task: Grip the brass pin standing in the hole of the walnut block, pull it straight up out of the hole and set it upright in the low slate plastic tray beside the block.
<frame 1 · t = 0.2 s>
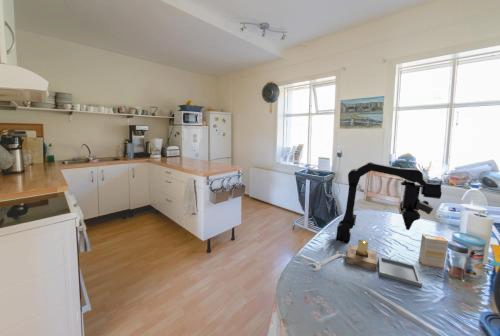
hand: (406, 226, 106), 14 cm above the table, tool pointing down, fingers open, 9 cm apart
supplement box: (430, 264, 101), on the table
pin block: (361, 259, 103), on the table
brass pin: (362, 250, 102), in the pin block
wrench: (328, 261, 101), on the table
tray: (397, 272, 93), on the table
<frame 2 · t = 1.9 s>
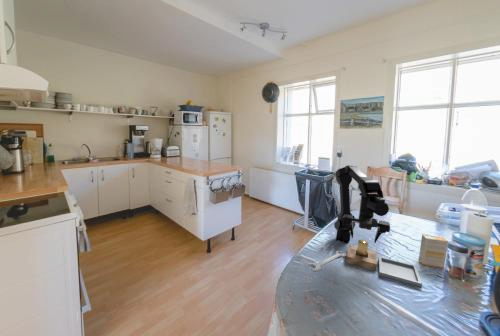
hand: (363, 240, 101), 10 cm above the table, tool pointing down, fingers open, 9 cm apart
nothing on the table moved.
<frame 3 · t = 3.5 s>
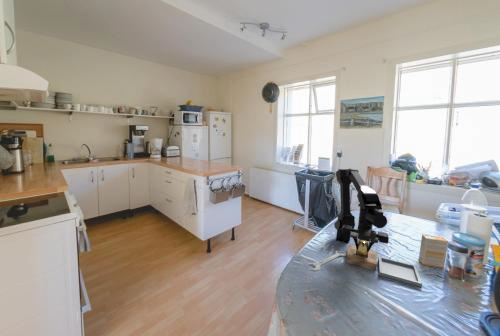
hand: (362, 250, 102), 5 cm above the table, tool pointing down, fingers closed on brass pin, 4 cm apart
brass pin: (362, 250, 102), in the pin block, touching gripper
everything else where it was.
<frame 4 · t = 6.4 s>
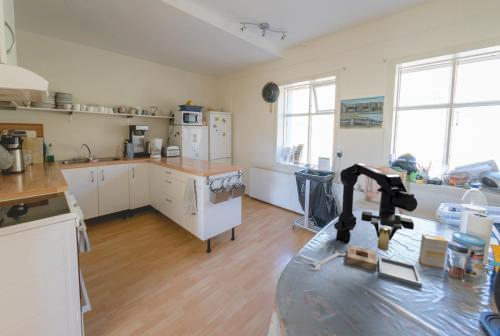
hand: (383, 238, 95), 13 cm above the table, tool pointing down, fingers closed on brass pin, 4 cm apart
brass pin: (383, 238, 95), point 13 cm above the table, touching gripper
everything else where it was.
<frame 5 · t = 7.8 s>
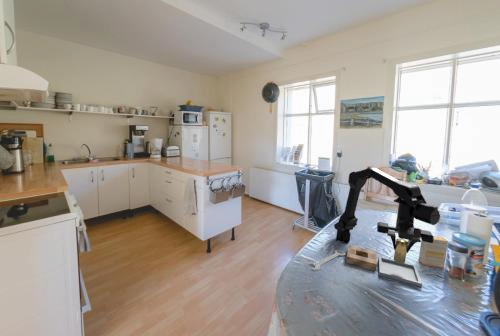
hand: (400, 250, 92), 10 cm above the table, tool pointing down, fingers closed on brass pin, 4 cm apart
brass pin: (400, 251, 92), point 10 cm above the table, touching gripper
everything else where it was.
when the fingers open (7 cm above the table, at t = 9.2 s): brass pin drops 2 cm, resting on tray.
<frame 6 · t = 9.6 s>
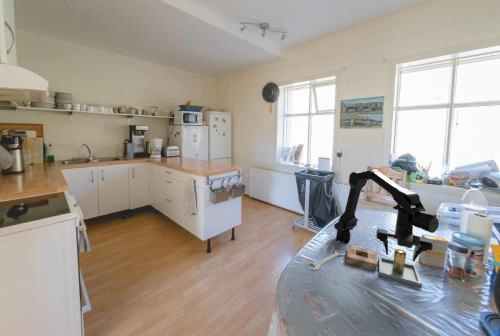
hand: (399, 257, 92), 7 cm above the table, tool pointing down, fingers open, 9 cm apart
brass pin: (399, 261, 93), in the tray, point 5 cm above the table
everything else where it was.
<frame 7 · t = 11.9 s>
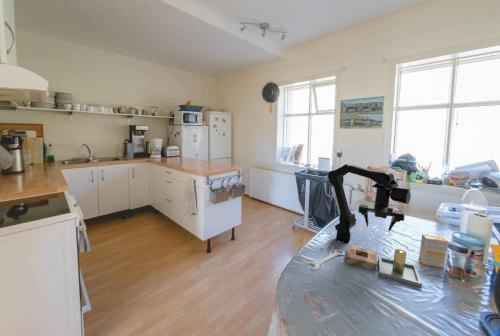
hand: (377, 228, 107), 13 cm above the table, tool pointing down, fingers open, 9 cm apart
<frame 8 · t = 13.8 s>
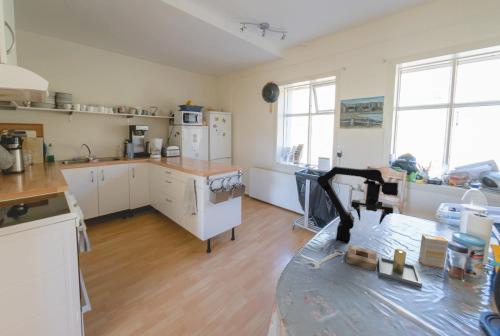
hand: (369, 222, 114), 13 cm above the table, tool pointing down, fingers open, 9 cm apart
at the end: brass pin inside the target area on the tray (0.1 cm from its centre), point 5.3 cm above the tray's base; brass pin tilted 1°; the gripper is holding nothing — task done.
